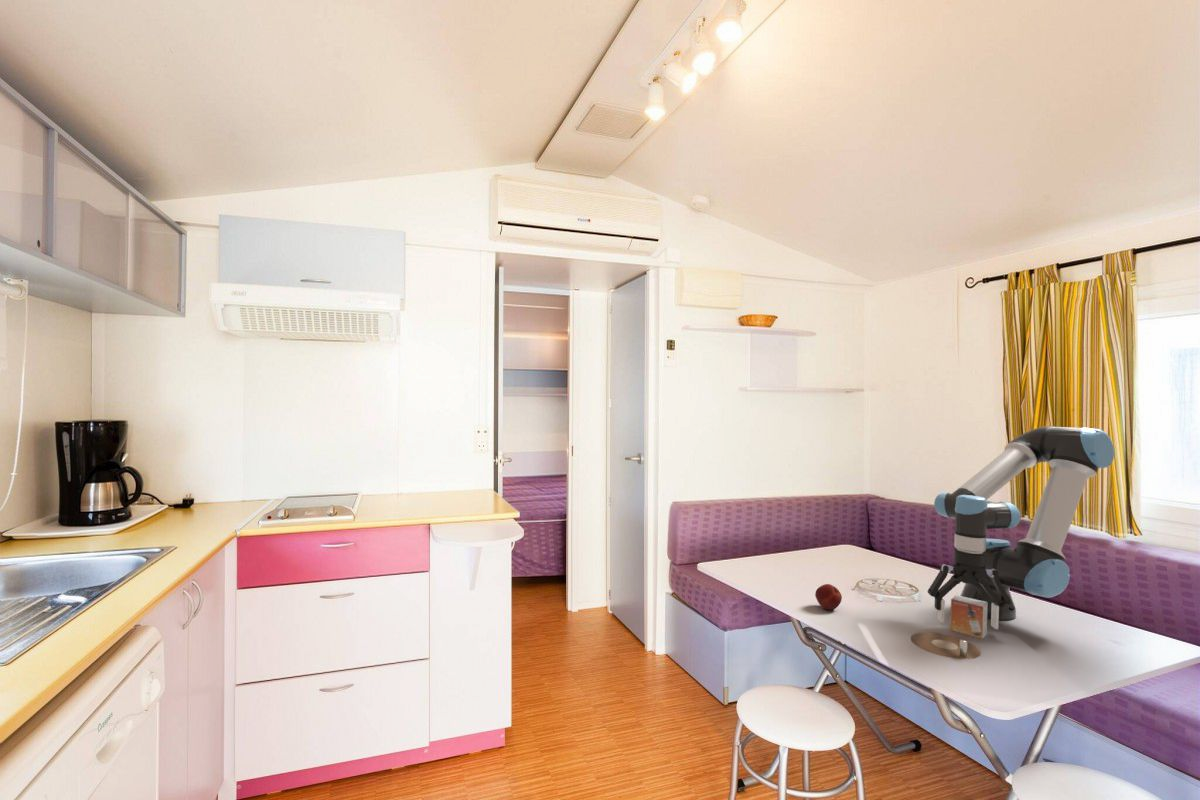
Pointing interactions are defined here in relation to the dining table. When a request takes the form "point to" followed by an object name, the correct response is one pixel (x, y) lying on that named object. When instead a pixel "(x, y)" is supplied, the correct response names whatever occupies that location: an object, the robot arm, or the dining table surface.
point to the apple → (828, 596)
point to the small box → (968, 616)
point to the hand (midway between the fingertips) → (967, 624)
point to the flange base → (943, 645)
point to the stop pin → (963, 648)
